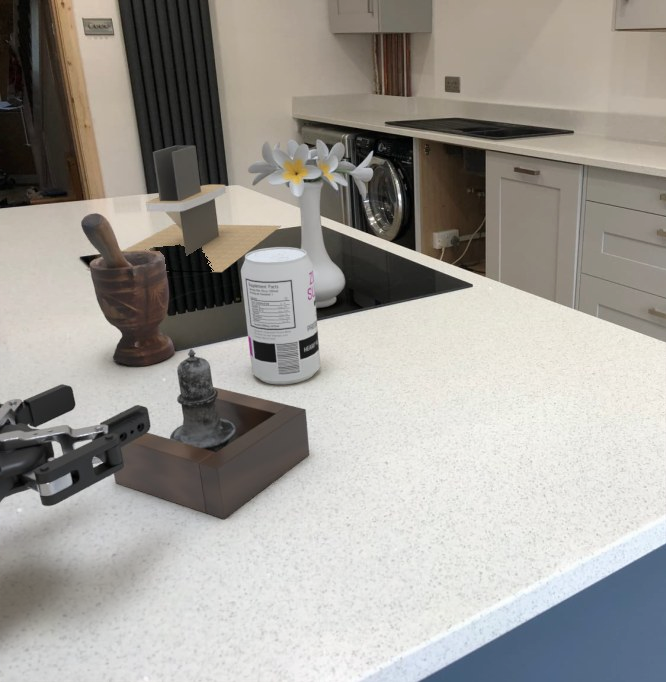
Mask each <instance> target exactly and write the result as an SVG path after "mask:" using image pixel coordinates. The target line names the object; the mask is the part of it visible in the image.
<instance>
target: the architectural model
mask: <svg viewBox="0 0 666 682" xmlns="http://www.w3.org/2000/svg"><path fill="white" fill-rule="evenodd" d="M196 148H197V147H196V145H173V146H170V147H165V148H163V149H159V150H156V151H152V157H153V164H154V172H155V177H156V178H155V179H156V185H157V191H158V192H157V193H158V196H157V197H155V198H153V199H150V200H148V201H146V202H145V206H146V211H147V212H151V213H152V212H156V213H159V212H160V213H161V212H162V213H165V214H166V215H167V216H168V217H169V218H170V219H171V220H172V221H173V224H171V225H170V226H168V227H166V228H164V229H162V230H160V231H158V232H156V233H154V234H152V235H150V236H147V237H146V238H144V239H142V240H141V241H138V242H137V243H135V244H133V245H131V246H129V247H127V248H125V249H122V250H121V252H123V251H126V252H129V251H136V250H138V251H141V250H145V249H146V250H149V249H150V248H153V247H163V246H175V245H179V244H180V245H181V246H184V247H185V253H186V256H188V255H189V254H191V253H193V252H194V251H196V250H197V249H199V248H201V247H202V250H203V251H202V252H203V253H205V257H206V256H207V257H208V258H207V257H206V258H207V259H208V260H209V261H210V262H211V263H210V262H209V261H208V263H210V264H209V266H210V267H211V268H212V269H213V270H214V271H213V270H212V269H211V270H212V272H211V273H223V272H224V271H225V270H227V269H228V268H229V267H231V266H232V265H233V264H234V263H235V262H237V261H238V260H240V258H242V257H243V256H245V255H246V254H248V253H249V252H250V251H251V250H252V249H254V247H256V246H257V245H258V244H260V243H261V242H262V241H265V239H266V238H268V237H269V236H270V235H271V234H273V233H274V232H275V231H277V230H278V229H279V228H280V227H281V225H260V224H259V225H256V224H255V225H253V224H251V225H248V224H218V223H219V222H218V214H217V205H216V198H218V197H220V196H223V195H225V194H227V192H226V191H227V190H226V184H204V185H201V181H200V180H201V179H200V171H199V164H198V163H199V162H198V156H197V155H198V154H197V149H196ZM208 263H207V264H208ZM211 265H212V266H211ZM86 270H87V271H90V267H89V268H87V269H86Z"/></svg>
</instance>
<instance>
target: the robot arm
mask: <svg viewBox="0 0 666 682" xmlns="http://www.w3.org/2000/svg"><path fill="white" fill-rule="evenodd" d="M75 407H76V399H75V395H74V390H73V387H72V386H70V385H67V384H58V385H56V386H53V387H52V388H49V389H47V390H44V391H42V392H40V393H38V394H35V395H32V396H30V397H28V398H26V399H23V400H22V399H20V398H16V399H15V398H13V399H9V400H7V401H5V402H4V403H0V503H1V502H2V501H3V500H4V499H5V498H7V497H10V496H13V495H16V494H18V493H22V492H25V491H29V490H32V491H35V492H37V493H38V494H39V498H40V503H41V505H42V506H44V507H51V506H55V505H57V504H59V503H62V502H63V501H65V500H67V499H69V498H70V497H73V496H74V495H76V494H78V493H80V492H82V491H84V490H86V489H87V488H89V487H91V486H93V485H95V484H97V483H99V482H101V481H102V480H104V479H107V478H108V477H110V476H112V475H114V473H116V472H117V471H119V470H121V469H123V468H124V462H123V457H122V452H121V447H122V446H124V445H126V444H128V443H130V442H132V441H133V440H135V439H137V438H139V437H141V436H142V435H144V434H146V433H149V431H150V430H151V427H152V426H151V420H150V414H149V413H150V412H149V409H148V408H147V406H144V405H140V404H136V405H133V406H131V407H129V408H127V409H126V410H123V411H122V412H120V413H117V414H115V415H114V416H113V415H112V416H111V417H110V418H107V419H106V420H104V421H101V422H100V423H99V424H95V425H91V426H86V427H80V428H72V427H71V426H69V425H67V424H62V425H57V426H52V427H51V426H50V427H46V428H37V427H40V426H42V425H44V424H46V423H48V422H50V421H52V420H54V419H56V418H59V417H61V416H63V415H65V414H68V413H69V412H71V411H73V410H74V409H75ZM85 441H89V442H88V443H85V444H83V445H81V446H79V447H77V448H76V447H75V444H77V443H80V442H81V443H82V442H85ZM53 442H55V443H58V444H59V445H60V448H61V451H62V454H61V455H59V456H58V457H55V451H54V446H53ZM95 464H96V465H95ZM94 465H95V466H94Z"/></svg>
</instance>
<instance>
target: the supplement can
mask: <svg viewBox="0 0 666 682" xmlns="http://www.w3.org/2000/svg"><path fill="white" fill-rule="evenodd" d="M240 276H241V286H242V294H243V303H244V313H245V321H246V329H247V338H248V347H249V355H250V357H249V358H250V365H251V373H252V374H253V375H254V376H255V377H256V378H258V379H259V380H260V381H262V382H264V383H266V384H271V385H292V384H297V383H301V382H304V381H307V380H308V379H310V378H312V377H313V376H314V375H315V374H316V372H317V371H318V370H319V369H320V368H321V357H320V344H319V329H318V318H317V317H318V316H317V308H316V302H315V289H314V275H313V264H312V262H311V261H310V259H309V257H308V256H307V254H306V251H304V250H302V249H301V248H299V247H289V246H274V247H265V248H260V249H255V250H252V251H248V252H247V253H246V254H245V255H244V261H243V263H242V266H241V269H240Z"/></svg>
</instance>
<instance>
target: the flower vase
mask: <svg viewBox="0 0 666 682" xmlns="http://www.w3.org/2000/svg"><path fill="white" fill-rule="evenodd" d="M315 144H316V149H315V148H313V149H309V146H308V145H307V144H305V143H302V144H300V145H299V144H298V143H297V142H296V140H294V139H289V140H288V141H287V143H286V151H284V150H282V149H281V148H280V147H281V143H280V141H278V142H277V143H275V145H274V147H273V149H272V146H271V144H270V142H269V141H268V140H266V141H264V142H263V144H262V147H261V157H262V160H258V161H255V162H253V163H251V165H249V167H248V168H247V172H248V173H249V174H257V175H256V176H255V178H254V179H253V181H252V186H256V185H257V184H259V183H260V182H261V181H262V180H264V179H266V178H267V177H268V178H267V182H268V184H269V185H271V186H280V185H284V184H285V186H286V187H287V188H289V189H290V192H291V193H292V195H293V196H294V197H296V198H297V201H298V204H299V211H300V213H299V215H300V231H301V234H300V236H301V240H300V241H301V243H300V249H302V250H304V251H306V254H307V256H308V257H309V259H310V261H311V262H312V264H313V275H314V289H315V302H316V309H320V308H327V307H330V306H332V305H335V303H337V297H338V296H339V295H340V294H341V293H342V292H343V290H344V288H345V286H346V277H345V274H344V273H343V271H342V269H341V268H340V267H339V266H338V265H337V264H336V263H335V262H333V261H332V259H331V258H330V256H329V254H328V252H327V251H328V250H327V249H326V246H325V241H324V236H323V228H322V218H321V217H322V216H321V194H322V189H323V186H324V181H325V182H327V183H328V184H329V185H330V186H331V187H332V188H333V189H334V190H336V191H339V186H338V185H341V186H343V187H348V186H349V184H348V181H347V179H345V175H344V174H347V175H350V176H352V178H353V180H354V183H355V185H356V186H357V188H358V191H359V195H361V197H362V200H363V201H364V202H365V201H366V199H367V188H366V187H367V186H366V184H365V183H364V182H370V181H371V180H372V178H373V176H374V170H373V168H371V167H368V166H369V164H370V163H371V161H372V158H373V154H374V150H372V151H370V152H369V154H368V155H367V156H366V157H365V159H364V160H363V161H362V162H361V163H360V164H359V165H358V166H356V165H354V164H353V163H351V162H349V161H345V160H342V159H343V157H344V155H345V153H346V152H345V151H346V147H345V145H344V144H343V143H342V142H336V143H335V144H334V145H333V146H332V148H331V149H330V150H329V148H328V146H327V144H326V143H324V141H322V140H321V139H316V141H315ZM341 160H342V161H341ZM323 180H324V181H323Z"/></svg>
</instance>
